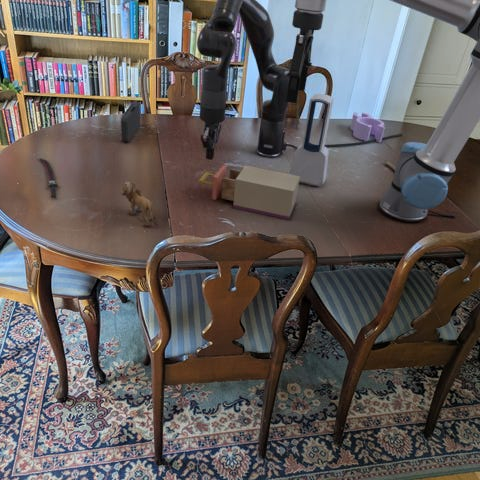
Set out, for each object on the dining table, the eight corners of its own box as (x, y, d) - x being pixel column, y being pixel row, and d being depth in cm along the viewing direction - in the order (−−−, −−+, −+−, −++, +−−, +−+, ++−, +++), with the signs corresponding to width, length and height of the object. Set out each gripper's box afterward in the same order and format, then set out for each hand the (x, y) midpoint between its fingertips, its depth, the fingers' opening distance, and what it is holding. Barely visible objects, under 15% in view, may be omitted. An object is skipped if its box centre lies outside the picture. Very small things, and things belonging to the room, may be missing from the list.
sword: (61, 197, 141) (61, 193, 140) (50, 198, 139) (50, 194, 139) (49, 160, 164) (48, 156, 163) (39, 160, 163) (39, 157, 162)
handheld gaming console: (134, 123, 200) (133, 100, 195) (140, 124, 200) (140, 100, 195) (121, 142, 181) (119, 117, 175) (128, 143, 181) (127, 118, 175)
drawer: (195, 195, 148) (196, 173, 144) (206, 183, 156) (207, 161, 152) (262, 210, 144) (265, 187, 140) (269, 196, 152) (272, 174, 148)
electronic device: (325, 180, 169) (342, 97, 152) (321, 188, 163) (339, 103, 146) (292, 173, 172) (306, 91, 155) (287, 181, 165) (301, 96, 149)
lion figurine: (118, 210, 138) (116, 182, 133) (132, 204, 141) (131, 177, 137) (151, 229, 130) (150, 201, 126) (165, 223, 134) (165, 195, 129)
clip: (343, 126, 223) (346, 112, 219) (367, 127, 225) (371, 113, 221) (360, 142, 206) (364, 127, 202) (386, 142, 209) (390, 127, 205)
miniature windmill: (297, 129, 213) (308, 60, 197) (278, 126, 214) (288, 57, 198) (299, 122, 221) (309, 56, 205) (281, 120, 222) (290, 53, 206)
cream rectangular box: (232, 207, 146) (235, 179, 141) (242, 192, 155) (245, 165, 150) (288, 219, 143) (293, 191, 137) (295, 203, 152) (300, 176, 147)
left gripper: (208, 96, 143) (205, 149, 152) (193, 107, 132) (190, 164, 141) (231, 100, 141) (227, 153, 151) (218, 112, 130) (214, 169, 140)
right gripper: (302, 4, 128) (290, 83, 140) (285, 14, 108) (273, 105, 119) (329, 8, 127) (315, 87, 138) (317, 18, 106) (301, 110, 118)
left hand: (209, 158), depth 146 cm, fingers closed
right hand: (295, 95), depth 129 cm, fingers open, 13 cm apart
